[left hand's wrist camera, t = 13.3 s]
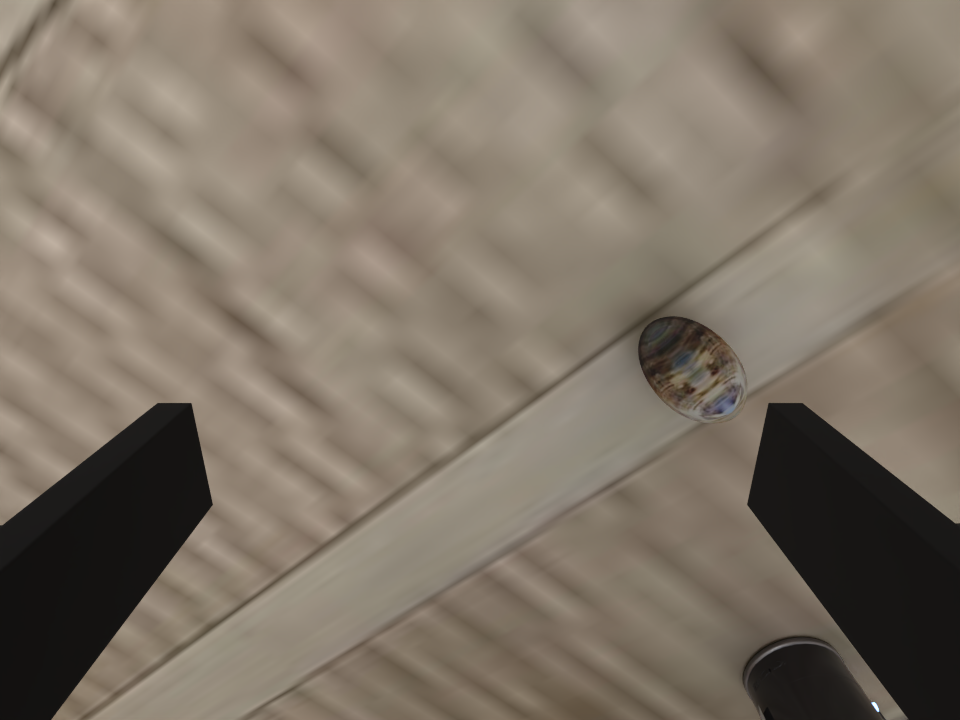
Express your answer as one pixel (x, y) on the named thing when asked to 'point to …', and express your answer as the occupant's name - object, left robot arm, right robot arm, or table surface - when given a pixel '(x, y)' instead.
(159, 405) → the left robot arm
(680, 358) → the seashell
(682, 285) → the table surface
